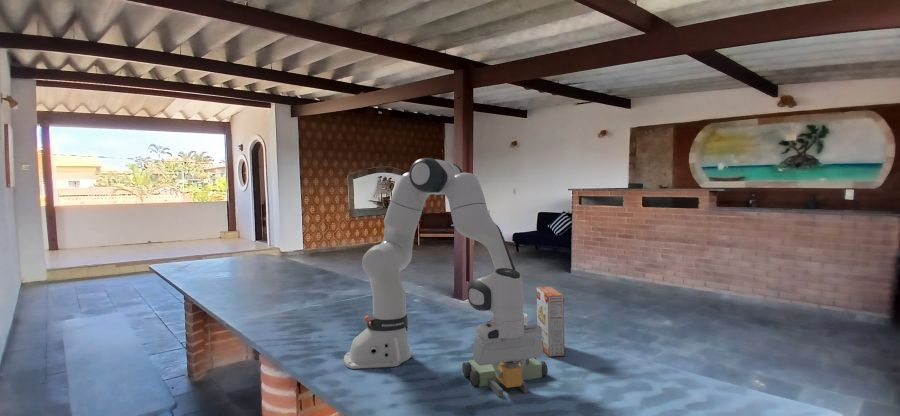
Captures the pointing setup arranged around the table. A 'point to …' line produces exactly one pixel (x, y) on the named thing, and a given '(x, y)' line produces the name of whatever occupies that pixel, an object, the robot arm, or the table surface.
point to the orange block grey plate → (510, 374)
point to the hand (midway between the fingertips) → (508, 375)
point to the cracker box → (551, 320)
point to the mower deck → (488, 377)
